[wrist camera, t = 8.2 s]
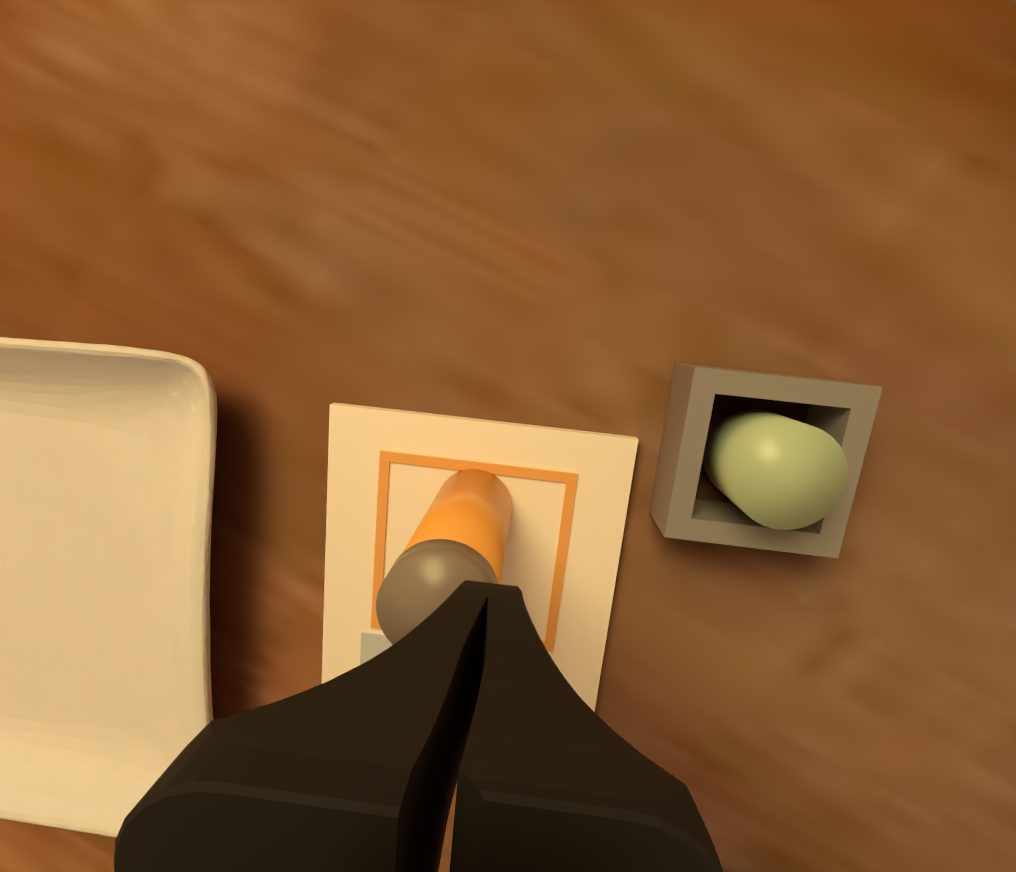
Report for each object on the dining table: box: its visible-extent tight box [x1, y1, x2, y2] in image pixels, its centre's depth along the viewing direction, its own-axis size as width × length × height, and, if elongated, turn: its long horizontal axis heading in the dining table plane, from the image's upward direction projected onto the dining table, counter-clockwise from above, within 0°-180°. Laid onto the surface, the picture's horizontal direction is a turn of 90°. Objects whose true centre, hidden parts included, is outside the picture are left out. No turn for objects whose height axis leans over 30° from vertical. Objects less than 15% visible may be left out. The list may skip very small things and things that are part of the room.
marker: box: [376, 469, 512, 645], centre depth 16 cm, size 3×3×7 cm
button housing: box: [649, 362, 882, 558], centre depth 18 cm, size 6×6×2 cm
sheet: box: [322, 403, 638, 712], centre depth 21 cm, size 14×12×1 cm
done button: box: [703, 409, 848, 530], centre depth 17 cm, size 3×3×3 cm
